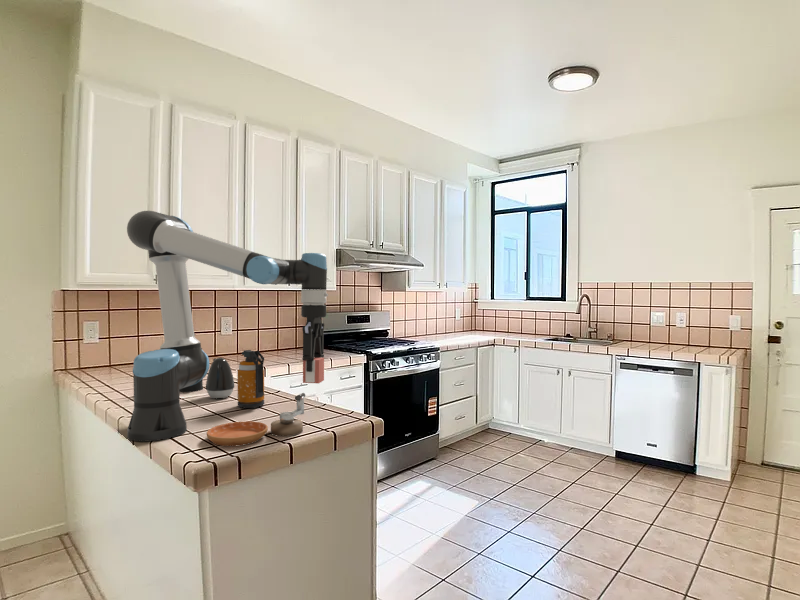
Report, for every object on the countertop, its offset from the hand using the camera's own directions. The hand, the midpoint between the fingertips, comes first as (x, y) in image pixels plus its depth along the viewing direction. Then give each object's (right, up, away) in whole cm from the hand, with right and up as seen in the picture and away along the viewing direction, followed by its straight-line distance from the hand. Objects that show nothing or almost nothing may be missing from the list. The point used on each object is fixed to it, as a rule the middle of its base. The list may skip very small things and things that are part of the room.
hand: (313, 380), depth 144 cm
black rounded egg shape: (-42, -13, +36) cm, 57 cm away
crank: (-5, -11, -4) cm, 12 cm away
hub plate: (-6, -14, -7) cm, 17 cm away
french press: (-59, -13, +50) cm, 79 cm away
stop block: (0, 0, 0) cm, 0 cm away
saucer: (-18, -14, -14) cm, 27 cm away
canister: (-25, -13, +22) cm, 36 cm away
